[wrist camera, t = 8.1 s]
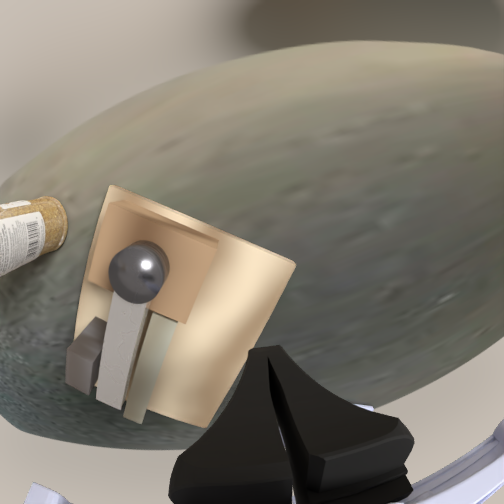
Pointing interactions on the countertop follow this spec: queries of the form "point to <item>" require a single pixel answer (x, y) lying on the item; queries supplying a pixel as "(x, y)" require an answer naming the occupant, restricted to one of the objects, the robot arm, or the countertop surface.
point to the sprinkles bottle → (30, 231)
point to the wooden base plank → (177, 309)
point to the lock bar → (128, 314)
